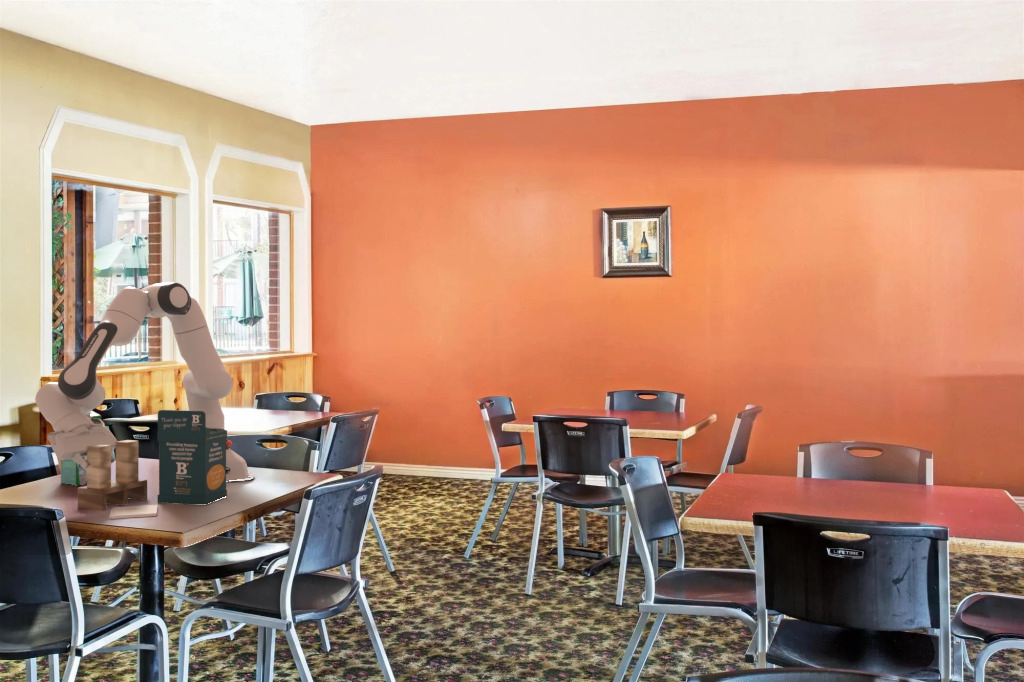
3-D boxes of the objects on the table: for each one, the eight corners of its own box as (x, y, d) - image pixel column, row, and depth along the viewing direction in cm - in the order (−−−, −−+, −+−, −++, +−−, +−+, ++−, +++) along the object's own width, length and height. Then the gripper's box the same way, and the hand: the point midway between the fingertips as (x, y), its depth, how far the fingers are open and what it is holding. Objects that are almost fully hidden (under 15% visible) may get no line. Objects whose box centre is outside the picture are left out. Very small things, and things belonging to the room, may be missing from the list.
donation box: (157, 502, 266) (157, 409, 265) (188, 492, 281) (188, 405, 281) (205, 505, 262) (205, 411, 261) (234, 495, 278) (234, 406, 277)
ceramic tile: (157, 507, 258) (157, 504, 258) (156, 516, 247) (156, 513, 247) (112, 510, 254) (112, 507, 254) (109, 519, 243) (109, 516, 243)
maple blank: (99, 485, 261) (98, 444, 261) (111, 486, 260) (110, 445, 260) (87, 487, 257) (86, 446, 257) (99, 488, 255) (99, 447, 255)
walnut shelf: (124, 497, 274) (123, 477, 274) (147, 499, 271) (147, 479, 271) (77, 508, 257) (77, 487, 257) (102, 510, 254) (102, 489, 254)
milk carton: (76, 486, 291) (76, 410, 291) (60, 483, 296) (60, 409, 296) (101, 482, 299) (101, 408, 298) (85, 479, 304) (85, 407, 303)
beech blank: (126, 478, 272) (126, 440, 271) (138, 479, 270) (138, 440, 270) (115, 481, 267) (115, 441, 267) (127, 482, 266) (127, 442, 266)
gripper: (50, 425, 251) (77, 462, 248) (105, 418, 270) (131, 452, 267) (38, 440, 252) (65, 477, 249) (94, 432, 271) (119, 466, 268)
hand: (99, 464), depth 258 cm, fingers open, 8 cm apart
